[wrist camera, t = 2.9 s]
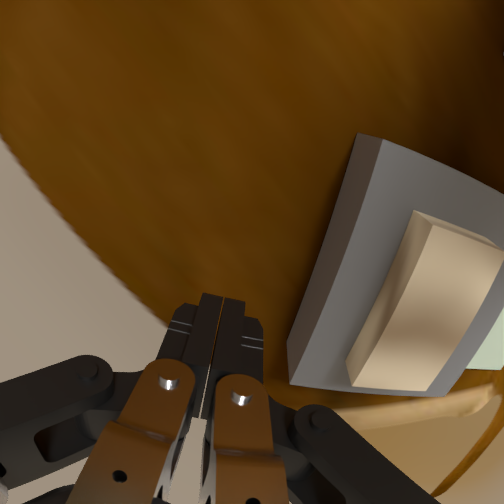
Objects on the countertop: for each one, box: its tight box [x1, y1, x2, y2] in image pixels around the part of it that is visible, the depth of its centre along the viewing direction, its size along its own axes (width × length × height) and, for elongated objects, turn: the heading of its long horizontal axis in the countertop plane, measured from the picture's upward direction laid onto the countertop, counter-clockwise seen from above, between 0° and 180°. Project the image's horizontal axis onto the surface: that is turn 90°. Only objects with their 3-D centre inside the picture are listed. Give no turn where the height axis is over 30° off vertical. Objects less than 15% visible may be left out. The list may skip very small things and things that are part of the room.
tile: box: [345, 210, 504, 391], centre depth 14 cm, size 9×5×2 cm, turn 167°
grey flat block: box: [287, 133, 504, 397], centre depth 17 cm, size 14×12×4 cm
